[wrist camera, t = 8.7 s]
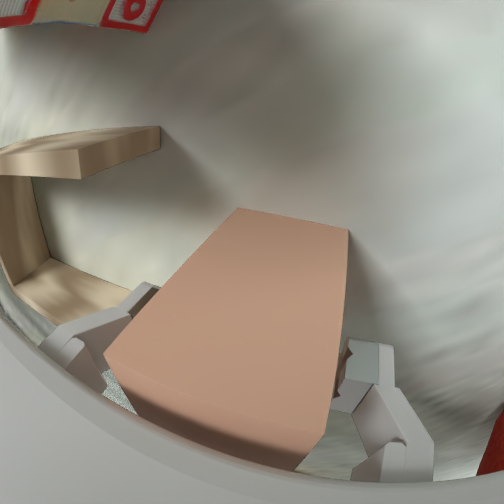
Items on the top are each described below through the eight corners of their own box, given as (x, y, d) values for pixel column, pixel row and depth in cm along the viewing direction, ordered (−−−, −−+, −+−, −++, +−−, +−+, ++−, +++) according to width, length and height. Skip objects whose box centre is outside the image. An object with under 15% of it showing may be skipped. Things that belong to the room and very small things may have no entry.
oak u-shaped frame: (48, 264, 20) (13, 292, 16) (20, 140, 14) (-27, 160, 10) (177, 318, 16) (137, 372, 13) (159, 126, 11) (77, 149, 7)
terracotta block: (235, 293, 14) (150, 433, 7) (238, 207, 11) (103, 353, 5) (325, 314, 13) (283, 480, 6) (348, 229, 10) (324, 433, 4)
